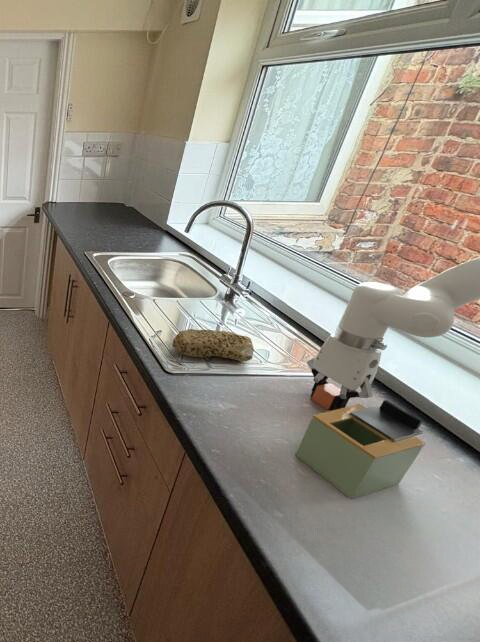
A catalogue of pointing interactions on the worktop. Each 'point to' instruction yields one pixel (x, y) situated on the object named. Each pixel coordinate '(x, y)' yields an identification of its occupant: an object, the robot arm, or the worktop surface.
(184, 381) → the worktop surface
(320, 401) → the block
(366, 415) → the slider
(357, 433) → the green open box
